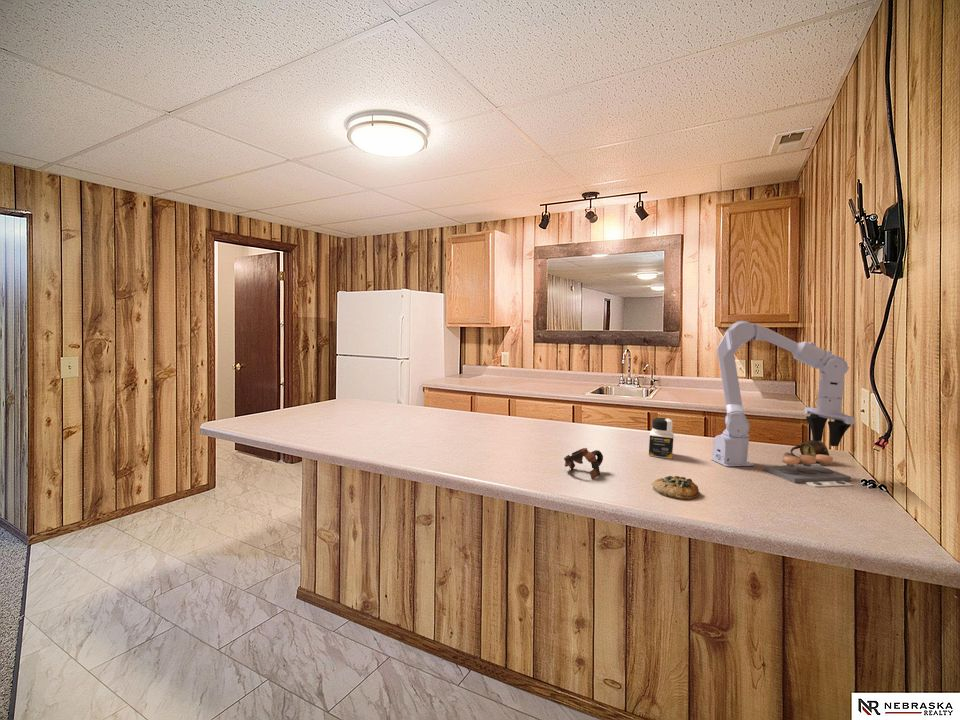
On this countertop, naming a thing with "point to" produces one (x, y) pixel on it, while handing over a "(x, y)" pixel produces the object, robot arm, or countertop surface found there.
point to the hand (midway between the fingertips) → (825, 443)
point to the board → (807, 473)
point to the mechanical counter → (810, 449)
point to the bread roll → (676, 487)
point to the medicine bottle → (661, 438)
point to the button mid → (807, 460)
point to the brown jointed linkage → (589, 457)
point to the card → (829, 483)
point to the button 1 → (791, 460)
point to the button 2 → (824, 459)
